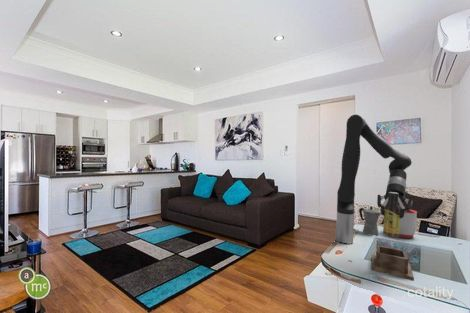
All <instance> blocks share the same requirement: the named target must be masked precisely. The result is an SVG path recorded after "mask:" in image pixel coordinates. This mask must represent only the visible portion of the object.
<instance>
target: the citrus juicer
mask: <svg viewBox="0 0 470 313" xmlns="http://www.w3.org/2000/svg"><path fill="white" fill-rule="evenodd" d="M417 215H418V211H417V210H414V209H412V208H411V209H410V212H407V211H405V213H404V217H402V219H401V218H400V232H399V236H398V237H397V238H405V239H412V238H413V237H414V236H415V233H416V229H417V221H418V220H417Z"/></svg>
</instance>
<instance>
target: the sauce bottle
mask: <svg viewBox="0 0 470 313" xmlns="http://www.w3.org/2000/svg"><path fill="white" fill-rule="evenodd" d="M398 196H399V193H396V192H388V202H387V204H386V207H385V209H384V215H383V226H382V230H383V231H382V232H383V234H384V235H385V236H388V237H391V238H399V237H398V236H399V232H400V210H401V208H400V206H399V204H398Z"/></svg>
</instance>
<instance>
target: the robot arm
mask: <svg viewBox="0 0 470 313" xmlns="http://www.w3.org/2000/svg"><path fill="white" fill-rule="evenodd" d="M345 132H346V134H345V141H344V142H345V143H344V147H343V152H342V158H341V178H340V182H339V187H338V190H337V195H336V196H337V197H336V198H337V200H336V203H337V204H336V224H335V241H336V242H338V241H339V242H338V243H340V242H342V243H341V244H344V243H347V244H346V245H351V243H352V244H354V229H355V228H354V225H355V224H354V222H355V220H354V219H355V195H356V194H355V189H356V186H355V184H356V177H357V175H358V171H359V165H360V161H361V141H360V140H361V137H362V138H363V139H364V140H365V141H366V142H367V143H368V144H369V145H370V147H372V149H373V150H375V152H376V153H377V154H378V155H380V156H381V158H383V159H389V158H391V159H393V160H391V162H389V165H388V172H389V178H388V182H387V185H386V191H385V194H384V195H381V194H377V200H376V203H377V207H378V208H380V213H381V216H384V209H385V207H386V204H387V202H388V192H396V193H399V196H398V204H399V206H400V208H401V210H400V218H401V219H402V217H404V213H405V211H407V212H410V209H411V210H412V207H413V198H412V197H410V198H406V197H405V196H406V190H407V176H408V175H407V172H406V171H405V170H406V169H408V168H409V167H410V166H412V163H413V162H412V159H411V158H410V157H409V155H407V154H405V153H404V152H401V151H400V150H399V149H398V150H397V149H395V148H394V147H393V146H392V145H391V144H390V143H389V142H387V141H386V140H385V139H384V138H383V137H381V136H380V135H378V134H377V133H376V132H375V131H374V130H373V129H372V128H371V127H370V126H369V124H368V123H367V122H366V119H365V118H364V117H363V116H362V115H359V114H352V115H350V116H349V117H348V119H347V121H346V131H345ZM383 199H384V201H383ZM382 201H383V203H382ZM404 203H406V204H407V205H406V206H404Z"/></svg>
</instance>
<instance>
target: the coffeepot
mask: <svg viewBox="0 0 470 313" xmlns="http://www.w3.org/2000/svg"><path fill="white" fill-rule="evenodd" d="M358 213H359V216H360V220H361V221H364V224H363V228H362V229H363V230H362V233H363V232H364V233H363V234H365V233H366V234H365V235H367V234H371V235H370V236H373V235H377V236H378V235H379V228H378V224H377V223H378V222H379V221H378V220H379V216H382V214H381V212H380V211H378V210H376V209H373V206H369V209H367V208H365V207H360V208H359V210H358Z"/></svg>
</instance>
